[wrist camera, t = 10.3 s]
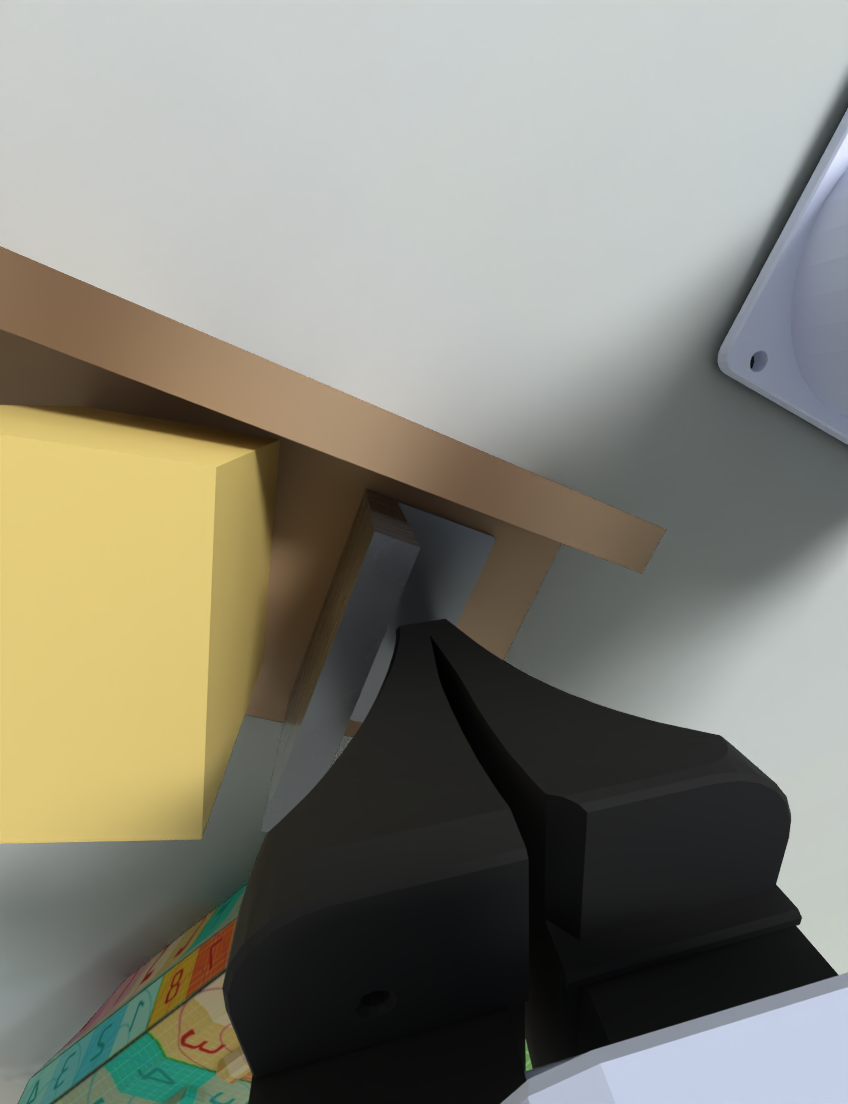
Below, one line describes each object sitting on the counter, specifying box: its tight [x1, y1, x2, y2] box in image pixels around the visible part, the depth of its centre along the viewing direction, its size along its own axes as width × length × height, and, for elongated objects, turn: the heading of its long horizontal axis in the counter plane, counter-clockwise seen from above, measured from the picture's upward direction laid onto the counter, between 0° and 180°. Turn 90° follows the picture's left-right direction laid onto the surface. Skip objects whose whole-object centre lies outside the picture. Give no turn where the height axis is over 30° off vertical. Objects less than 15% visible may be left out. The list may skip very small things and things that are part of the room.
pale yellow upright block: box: [0, 405, 280, 843], centre depth 8 cm, size 4×6×5 cm, turn 170°
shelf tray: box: [0, 246, 666, 737], centre depth 8 cm, size 21×9×6 cm, turn 68°
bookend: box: [261, 488, 496, 832], centre depth 10 cm, size 4×6×4 cm, turn 158°
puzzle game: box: [18, 884, 533, 1104], centre depth 16 cm, size 12×5×20 cm
